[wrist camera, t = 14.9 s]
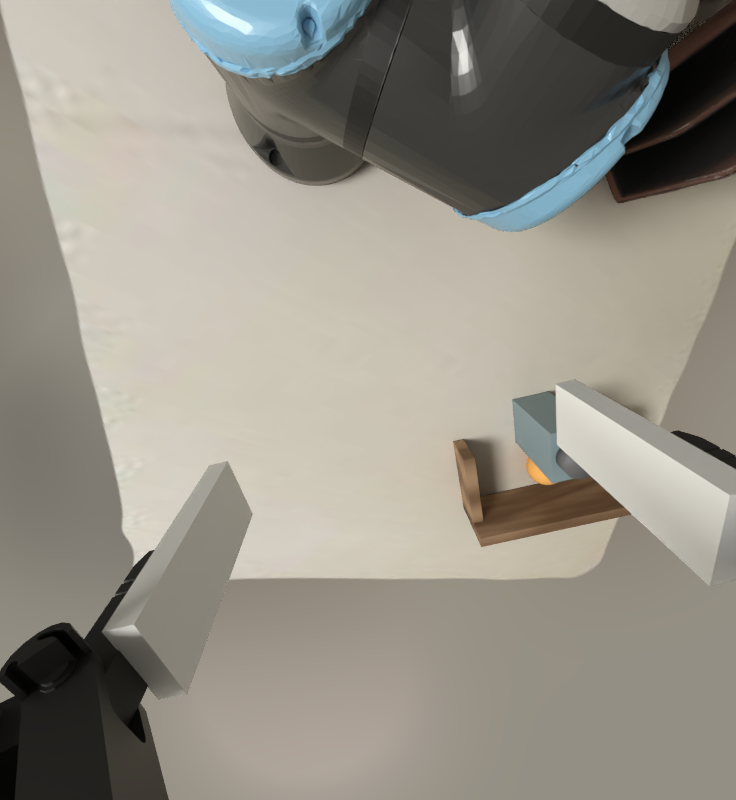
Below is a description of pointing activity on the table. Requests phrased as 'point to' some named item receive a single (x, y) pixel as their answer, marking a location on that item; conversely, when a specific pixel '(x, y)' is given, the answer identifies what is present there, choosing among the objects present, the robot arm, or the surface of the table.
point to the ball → (537, 473)
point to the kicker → (543, 437)
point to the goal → (530, 504)
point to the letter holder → (687, 118)
